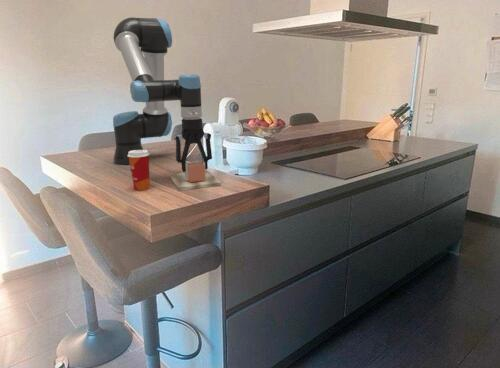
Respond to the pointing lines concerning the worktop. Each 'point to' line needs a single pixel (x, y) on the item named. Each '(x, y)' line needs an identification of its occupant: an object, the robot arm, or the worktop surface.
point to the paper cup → (139, 169)
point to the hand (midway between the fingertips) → (195, 178)
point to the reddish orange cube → (196, 172)
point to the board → (186, 185)
